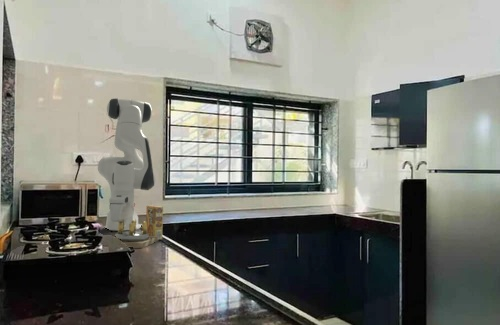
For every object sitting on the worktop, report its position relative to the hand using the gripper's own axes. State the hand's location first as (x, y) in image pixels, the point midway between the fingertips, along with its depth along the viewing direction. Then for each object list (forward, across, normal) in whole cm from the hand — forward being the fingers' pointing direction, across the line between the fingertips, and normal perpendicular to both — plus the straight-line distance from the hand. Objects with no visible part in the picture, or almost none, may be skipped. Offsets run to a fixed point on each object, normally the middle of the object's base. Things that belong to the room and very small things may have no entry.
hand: (122, 229), depth 170 cm
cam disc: (+4, +2, +5) cm, 6 cm away
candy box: (+6, -12, +11) cm, 18 cm away
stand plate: (+6, +1, +5) cm, 8 cm away
